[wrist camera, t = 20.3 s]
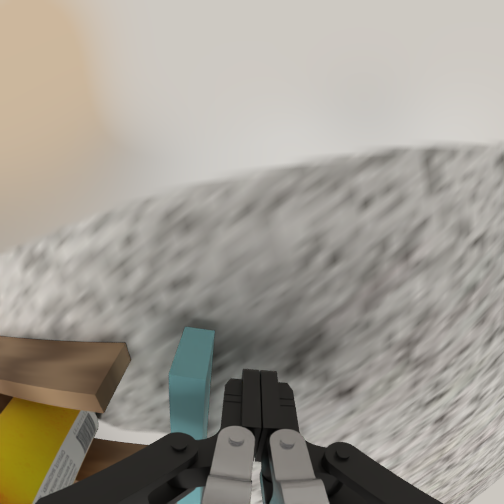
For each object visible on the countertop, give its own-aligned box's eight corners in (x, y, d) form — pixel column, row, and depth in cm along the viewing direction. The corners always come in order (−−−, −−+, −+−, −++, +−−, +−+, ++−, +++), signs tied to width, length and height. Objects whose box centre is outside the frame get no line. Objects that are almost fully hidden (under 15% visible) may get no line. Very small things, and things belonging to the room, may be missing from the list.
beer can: (19, 364, 17) (-88, 506, 3) (81, 369, 17) (-28, 562, 2) (53, 424, 19) (-18, 562, 4) (114, 433, 19) (54, 604, 4)
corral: (198, 341, 16) (183, 399, 12) (233, 484, 20) (231, 529, 16) (-11, 335, 16) (-46, 366, 12) (63, 463, 21) (47, 496, 16)
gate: (230, 326, 15) (223, 392, 10) (213, 485, 20) (208, 534, 15) (173, 318, 15) (146, 380, 10) (177, 480, 19) (168, 529, 15)
